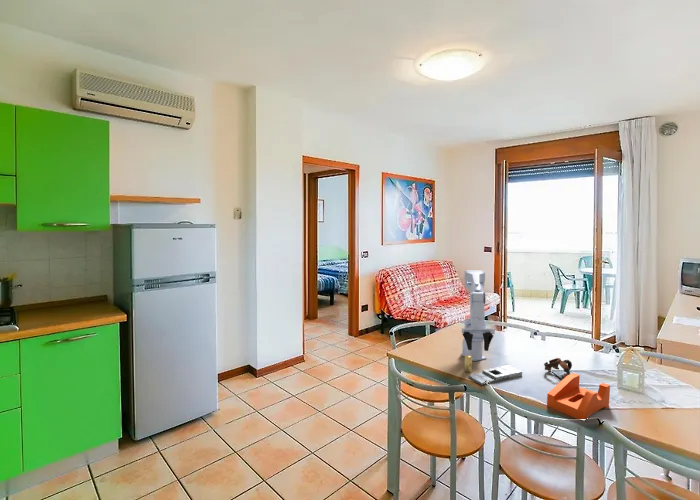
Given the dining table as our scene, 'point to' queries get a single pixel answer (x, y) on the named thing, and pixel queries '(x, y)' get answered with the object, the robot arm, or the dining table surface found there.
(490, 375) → the white grey flat block
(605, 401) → the orange notched block
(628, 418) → the dining table surface
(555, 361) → the brown jointed arch
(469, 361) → the brass pin
